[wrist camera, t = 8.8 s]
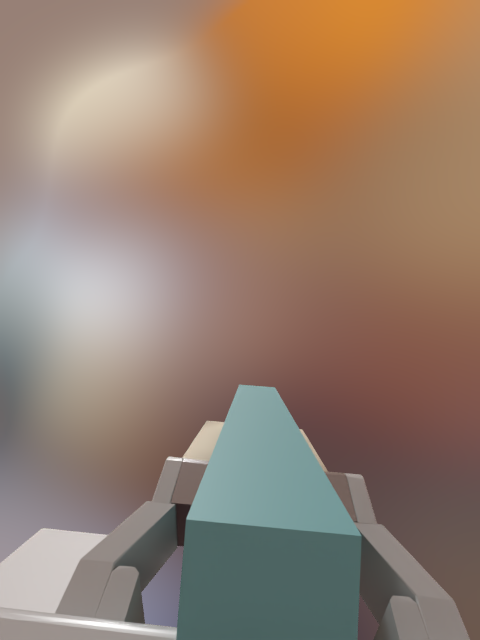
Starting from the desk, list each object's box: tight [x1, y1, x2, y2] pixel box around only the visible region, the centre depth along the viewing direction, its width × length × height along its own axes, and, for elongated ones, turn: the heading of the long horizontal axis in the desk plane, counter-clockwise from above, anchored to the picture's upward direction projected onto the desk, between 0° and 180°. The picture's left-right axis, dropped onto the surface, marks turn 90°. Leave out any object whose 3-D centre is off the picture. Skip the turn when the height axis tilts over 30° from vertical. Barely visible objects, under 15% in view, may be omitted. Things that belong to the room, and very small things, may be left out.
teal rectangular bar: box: [176, 385, 362, 640], centre depth 18 cm, size 3×24×3 cm, turn 178°
